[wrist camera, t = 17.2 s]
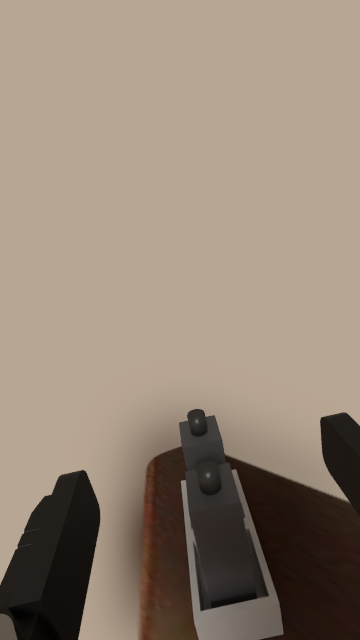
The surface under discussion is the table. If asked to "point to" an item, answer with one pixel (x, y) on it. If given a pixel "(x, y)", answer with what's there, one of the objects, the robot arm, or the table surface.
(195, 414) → the twin plug
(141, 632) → the table surface
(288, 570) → the table surface
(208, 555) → the plug
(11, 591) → the robot arm
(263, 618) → the grey rectangular tray
